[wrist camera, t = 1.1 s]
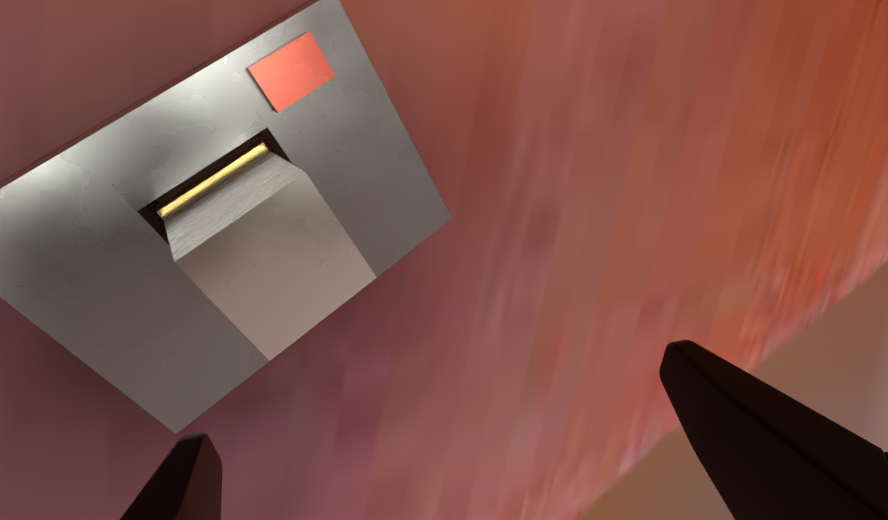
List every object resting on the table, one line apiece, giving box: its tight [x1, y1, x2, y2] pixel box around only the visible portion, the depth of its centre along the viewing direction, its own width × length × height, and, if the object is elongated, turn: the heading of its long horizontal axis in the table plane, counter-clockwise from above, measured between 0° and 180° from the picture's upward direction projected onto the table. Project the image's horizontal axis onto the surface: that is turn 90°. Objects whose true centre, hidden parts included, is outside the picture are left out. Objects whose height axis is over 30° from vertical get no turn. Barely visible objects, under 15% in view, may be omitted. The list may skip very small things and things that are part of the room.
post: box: [156, 139, 377, 361], centre depth 17 cm, size 4×4×7 cm
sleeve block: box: [0, 0, 452, 434], centre depth 19 cm, size 14×10×3 cm
